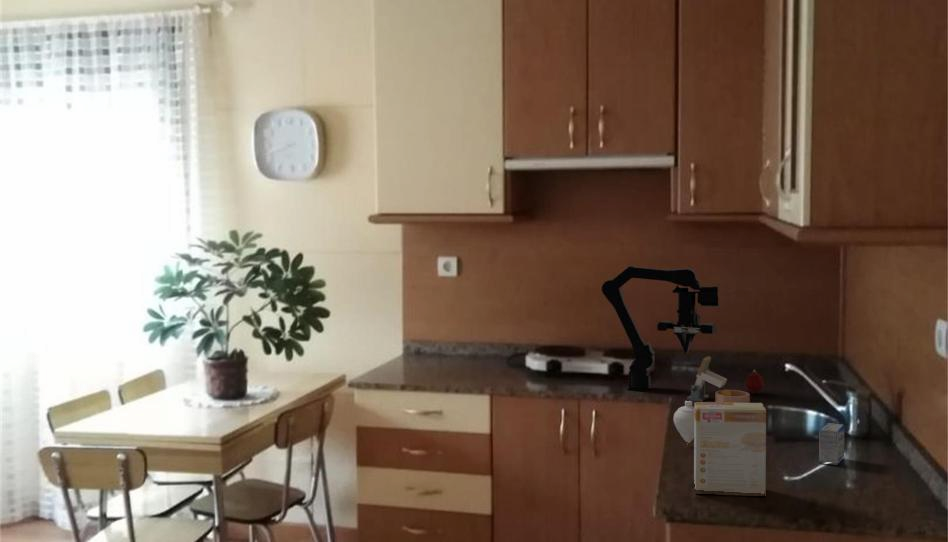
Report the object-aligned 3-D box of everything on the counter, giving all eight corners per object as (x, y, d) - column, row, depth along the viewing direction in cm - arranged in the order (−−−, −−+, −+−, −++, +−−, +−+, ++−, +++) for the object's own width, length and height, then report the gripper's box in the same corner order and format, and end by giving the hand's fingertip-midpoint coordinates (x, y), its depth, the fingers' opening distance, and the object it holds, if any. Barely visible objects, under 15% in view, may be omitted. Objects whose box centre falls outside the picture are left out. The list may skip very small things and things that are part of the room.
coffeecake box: (761, 487, 209) (762, 402, 208) (766, 498, 202) (767, 409, 201) (693, 485, 212) (693, 400, 210) (695, 495, 205) (696, 407, 203)
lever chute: (691, 388, 297) (703, 358, 295) (696, 384, 302) (708, 356, 300) (715, 399, 294) (727, 369, 291) (720, 396, 299) (732, 366, 296)
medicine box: (837, 466, 225) (838, 431, 224) (818, 464, 227) (819, 429, 226) (844, 458, 231) (844, 424, 231) (825, 456, 234) (826, 422, 233)
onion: (764, 396, 303) (764, 371, 302) (745, 395, 304) (746, 371, 303) (762, 392, 309) (762, 368, 308) (744, 391, 310) (744, 368, 309)
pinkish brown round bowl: (711, 404, 292) (711, 394, 292) (720, 398, 301) (720, 388, 301) (744, 407, 287) (744, 398, 287) (752, 401, 296) (752, 391, 296)
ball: (731, 395, 292) (725, 403, 293) (734, 393, 295) (728, 401, 296) (722, 388, 293) (716, 396, 295) (725, 386, 296) (719, 394, 298)
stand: (686, 400, 297) (686, 385, 297) (693, 396, 304) (694, 380, 304) (702, 402, 295) (702, 386, 294) (709, 397, 302) (709, 382, 301)
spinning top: (667, 444, 246) (667, 399, 245) (691, 441, 249) (691, 396, 248) (684, 451, 239) (685, 405, 238) (709, 448, 242) (709, 402, 241)
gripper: (721, 305, 312) (720, 351, 313) (667, 302, 321) (667, 347, 322) (712, 308, 302) (711, 356, 303) (656, 305, 311) (656, 352, 313)
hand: (686, 352), depth 310 cm, fingers closed
